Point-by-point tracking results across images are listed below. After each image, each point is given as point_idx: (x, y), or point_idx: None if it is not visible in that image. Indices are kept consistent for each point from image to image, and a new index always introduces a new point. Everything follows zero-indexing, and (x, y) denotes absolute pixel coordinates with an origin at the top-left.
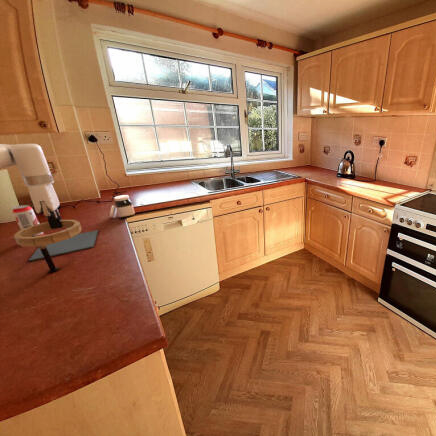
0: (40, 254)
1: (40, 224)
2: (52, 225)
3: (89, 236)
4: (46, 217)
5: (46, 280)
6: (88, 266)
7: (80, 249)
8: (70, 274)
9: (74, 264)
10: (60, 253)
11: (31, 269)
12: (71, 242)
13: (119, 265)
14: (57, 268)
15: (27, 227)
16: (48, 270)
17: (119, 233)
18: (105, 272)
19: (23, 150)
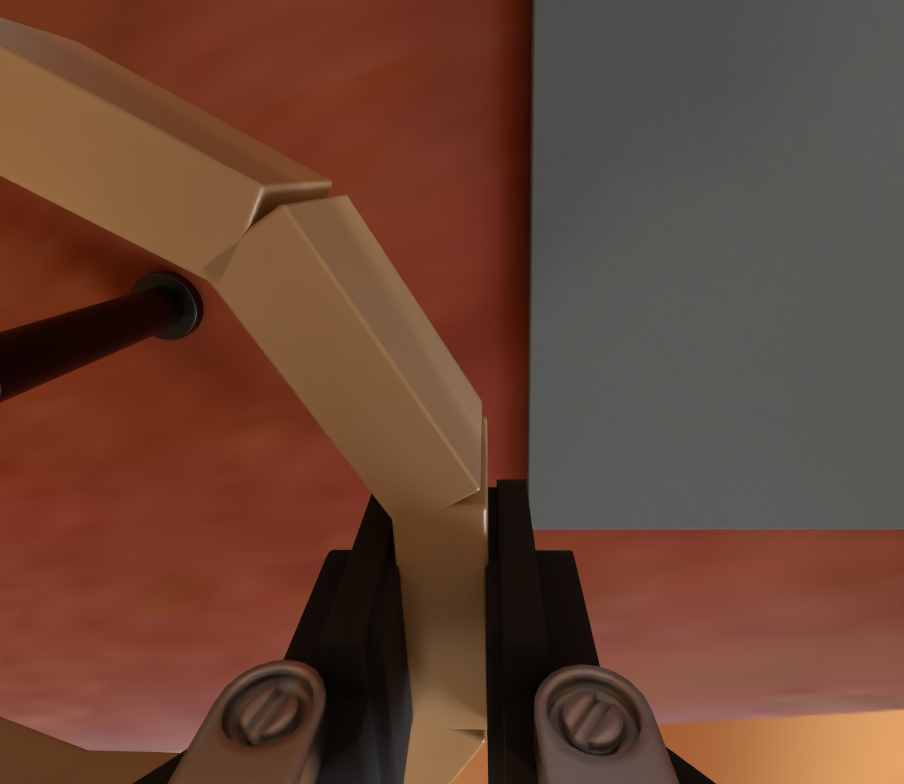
0: (641, 67)
1: (321, 409)
2: (323, 570)
3: (859, 474)
4: (195, 744)
5: (12, 292)
6: (140, 530)
7: (528, 439)
8: (53, 438)
9: (224, 435)
10: (530, 283)
11: (295, 86)
12: (807, 328)
13: (76, 690)
14: (164, 338)
15: (158, 138)
16: (153, 275)
17: (744, 683)
18: (5, 628)
19: None
